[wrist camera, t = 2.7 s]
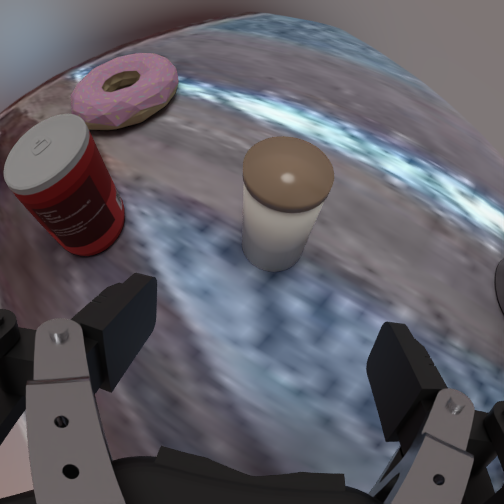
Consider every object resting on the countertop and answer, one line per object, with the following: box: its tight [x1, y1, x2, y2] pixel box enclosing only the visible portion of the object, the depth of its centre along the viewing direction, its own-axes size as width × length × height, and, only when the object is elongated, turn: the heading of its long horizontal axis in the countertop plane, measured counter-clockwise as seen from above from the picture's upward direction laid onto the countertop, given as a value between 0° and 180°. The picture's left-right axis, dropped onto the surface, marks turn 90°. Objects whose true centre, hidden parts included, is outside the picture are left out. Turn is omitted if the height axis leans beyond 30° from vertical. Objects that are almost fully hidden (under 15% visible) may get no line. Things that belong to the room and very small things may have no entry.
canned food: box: [4, 114, 125, 256], centre depth 22 cm, size 8×8×11 cm
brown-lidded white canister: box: [242, 136, 334, 272], centre depth 22 cm, size 6×6×10 cm
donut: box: [71, 53, 178, 130], centre depth 34 cm, size 16×15×5 cm
